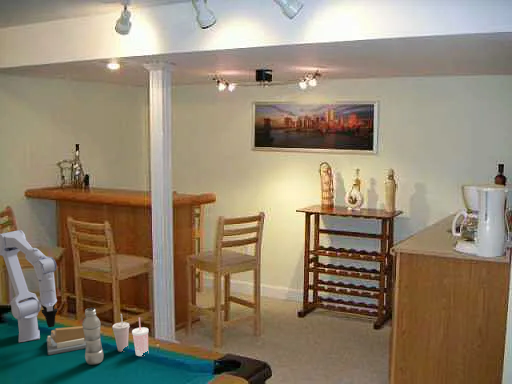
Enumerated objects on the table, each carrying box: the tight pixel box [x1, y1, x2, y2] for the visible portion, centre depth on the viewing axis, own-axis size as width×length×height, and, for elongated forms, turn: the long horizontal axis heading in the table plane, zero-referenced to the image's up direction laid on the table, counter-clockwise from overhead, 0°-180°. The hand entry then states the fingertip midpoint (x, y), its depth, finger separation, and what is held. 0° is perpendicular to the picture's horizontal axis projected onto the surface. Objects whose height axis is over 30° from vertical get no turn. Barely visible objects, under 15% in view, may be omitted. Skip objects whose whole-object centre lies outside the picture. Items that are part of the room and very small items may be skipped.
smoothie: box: [112, 313, 131, 353], centre depth 216 cm, size 6×6×14 cm
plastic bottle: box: [81, 307, 104, 366], centre depth 205 cm, size 6×7×20 cm
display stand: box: [46, 335, 86, 356], centre depth 224 cm, size 14×17×3 cm
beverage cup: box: [131, 316, 149, 357], centre depth 212 cm, size 6×6×14 cm
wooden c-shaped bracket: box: [50, 325, 85, 343], centre depth 225 cm, size 8×12×5 cm, turn 122°
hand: (50, 323), depth 221 cm, fingers open, 7 cm apart
